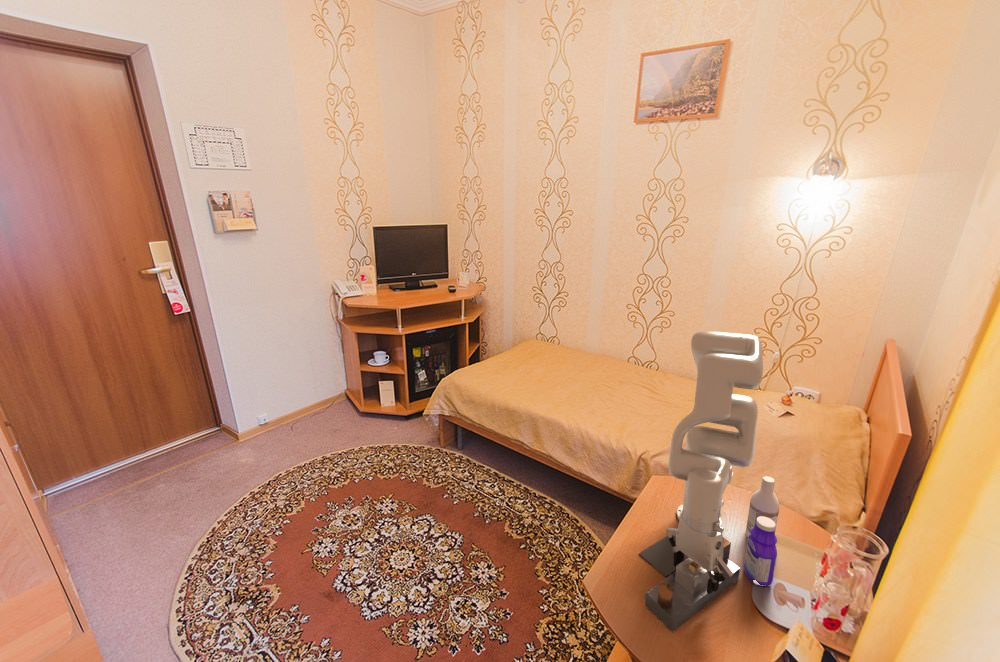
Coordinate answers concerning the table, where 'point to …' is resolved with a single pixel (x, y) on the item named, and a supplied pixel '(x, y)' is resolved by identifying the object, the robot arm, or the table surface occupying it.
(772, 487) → the bath foam
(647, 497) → the table surface
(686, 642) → the table surface
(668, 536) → the robot arm
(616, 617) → the table surface
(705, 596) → the body
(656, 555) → the rubber mat
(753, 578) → the bottle
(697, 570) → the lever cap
